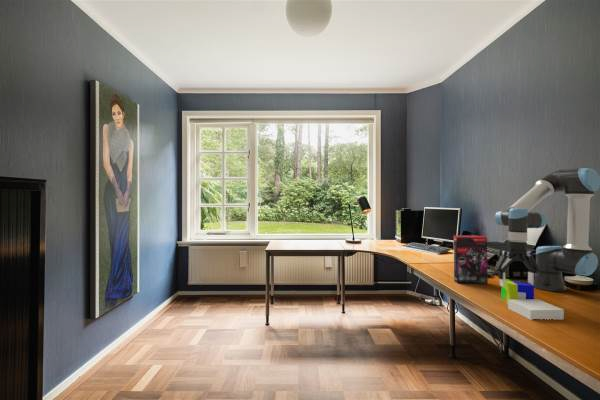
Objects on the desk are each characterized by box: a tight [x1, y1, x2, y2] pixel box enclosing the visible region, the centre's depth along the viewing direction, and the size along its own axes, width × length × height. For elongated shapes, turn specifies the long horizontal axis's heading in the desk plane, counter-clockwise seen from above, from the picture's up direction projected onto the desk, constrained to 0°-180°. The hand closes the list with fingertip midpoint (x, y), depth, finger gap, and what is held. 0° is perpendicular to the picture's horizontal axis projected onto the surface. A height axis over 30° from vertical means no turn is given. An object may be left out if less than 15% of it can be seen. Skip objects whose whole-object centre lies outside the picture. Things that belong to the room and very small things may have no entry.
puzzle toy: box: [500, 279, 535, 306], centre depth 160 cm, size 10×10×10 cm
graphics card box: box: [453, 235, 489, 285], centre depth 198 cm, size 17×7×27 cm, turn 83°
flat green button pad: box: [487, 268, 495, 277], centre depth 221 cm, size 18×18×5 cm
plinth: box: [507, 298, 565, 321], centre depth 145 cm, size 14×14×4 cm
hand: (516, 286), depth 159 cm, fingers open, 13 cm apart
